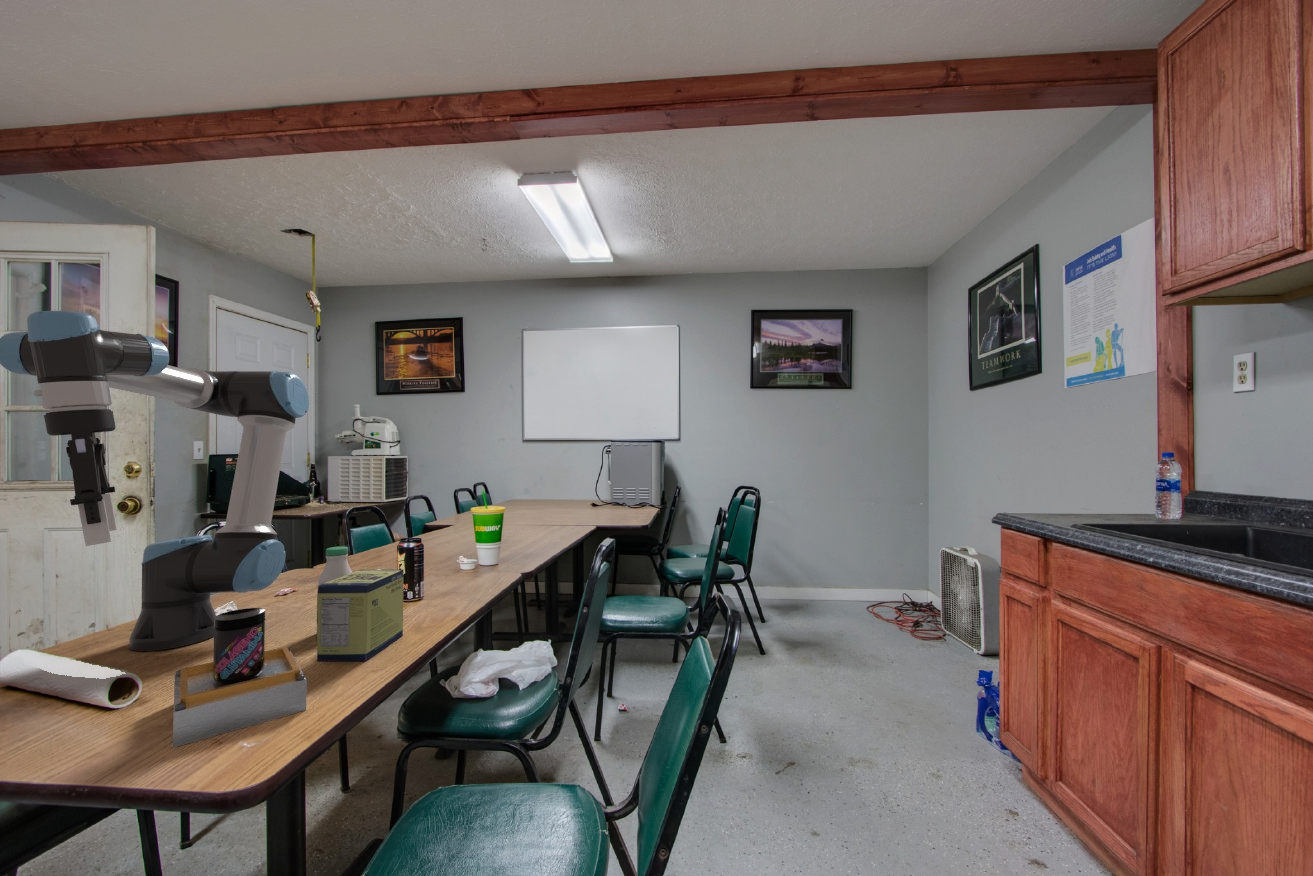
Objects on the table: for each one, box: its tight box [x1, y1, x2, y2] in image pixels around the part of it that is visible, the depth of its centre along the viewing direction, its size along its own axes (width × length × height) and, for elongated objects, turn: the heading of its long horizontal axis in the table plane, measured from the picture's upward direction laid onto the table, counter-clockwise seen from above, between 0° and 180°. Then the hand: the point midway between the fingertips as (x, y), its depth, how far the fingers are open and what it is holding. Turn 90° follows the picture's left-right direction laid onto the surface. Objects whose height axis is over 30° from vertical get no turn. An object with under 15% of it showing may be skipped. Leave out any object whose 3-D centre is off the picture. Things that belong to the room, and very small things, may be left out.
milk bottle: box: [316, 546, 353, 630], centre depth 123 cm, size 8×8×20 cm
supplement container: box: [212, 607, 266, 684], centre depth 86 cm, size 7×7×10 cm
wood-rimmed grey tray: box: [172, 646, 308, 748], centre depth 86 cm, size 18×16×6 cm
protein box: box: [316, 568, 404, 662], centre depth 113 cm, size 10×16×16 cm
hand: (102, 537), depth 86 cm, fingers open, 13 cm apart
